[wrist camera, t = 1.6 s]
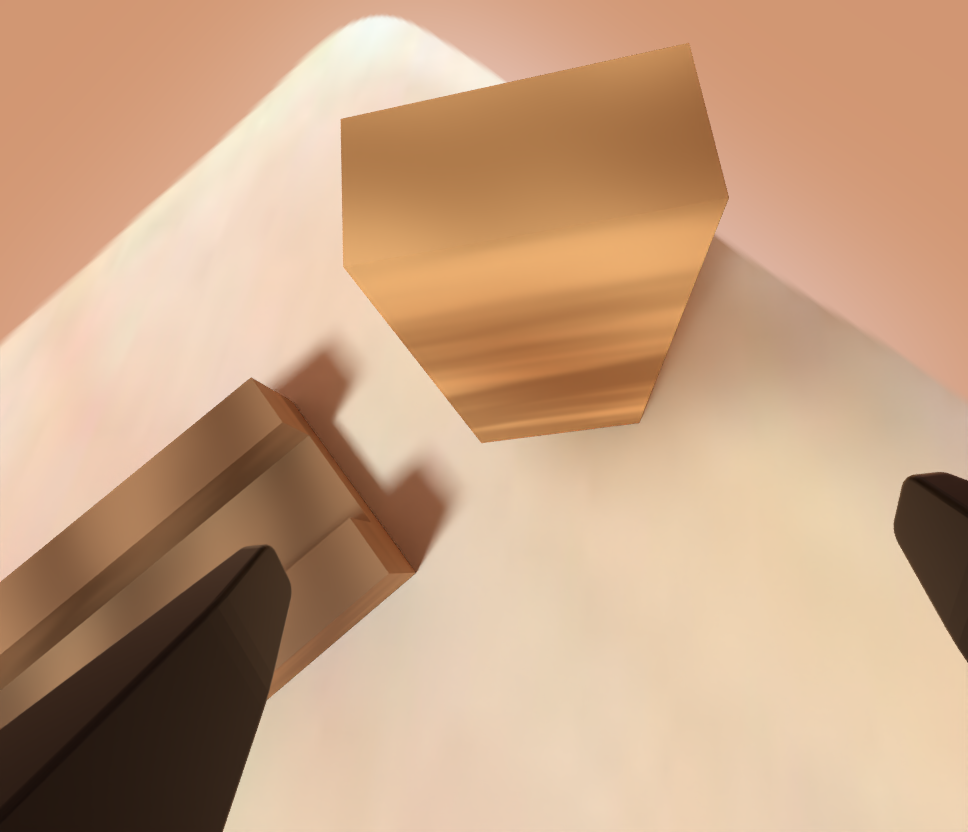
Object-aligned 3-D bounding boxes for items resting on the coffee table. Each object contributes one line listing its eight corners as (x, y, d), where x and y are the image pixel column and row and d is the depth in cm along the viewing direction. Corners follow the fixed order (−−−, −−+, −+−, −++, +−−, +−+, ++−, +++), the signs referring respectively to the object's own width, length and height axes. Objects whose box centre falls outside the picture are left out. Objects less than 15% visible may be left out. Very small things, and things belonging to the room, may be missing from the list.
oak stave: (639, 422, 20) (729, 197, 8) (481, 442, 21) (343, 266, 9) (625, 348, 21) (688, 43, 9) (475, 371, 22) (340, 119, 10)
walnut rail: (-19, 943, 19) (-123, 1008, 16) (-93, 717, 22) (-193, 739, 19) (415, 572, 20) (388, 573, 17) (291, 401, 23) (250, 377, 20)
